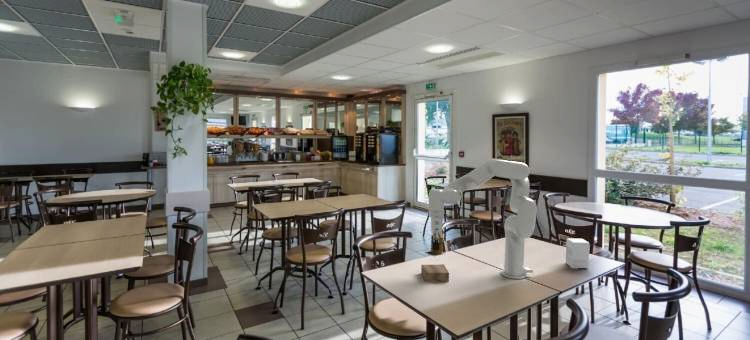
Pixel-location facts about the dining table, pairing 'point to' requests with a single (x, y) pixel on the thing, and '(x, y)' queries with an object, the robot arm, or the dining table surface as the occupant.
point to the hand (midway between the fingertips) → (435, 247)
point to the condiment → (440, 251)
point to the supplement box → (577, 253)
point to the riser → (435, 273)
